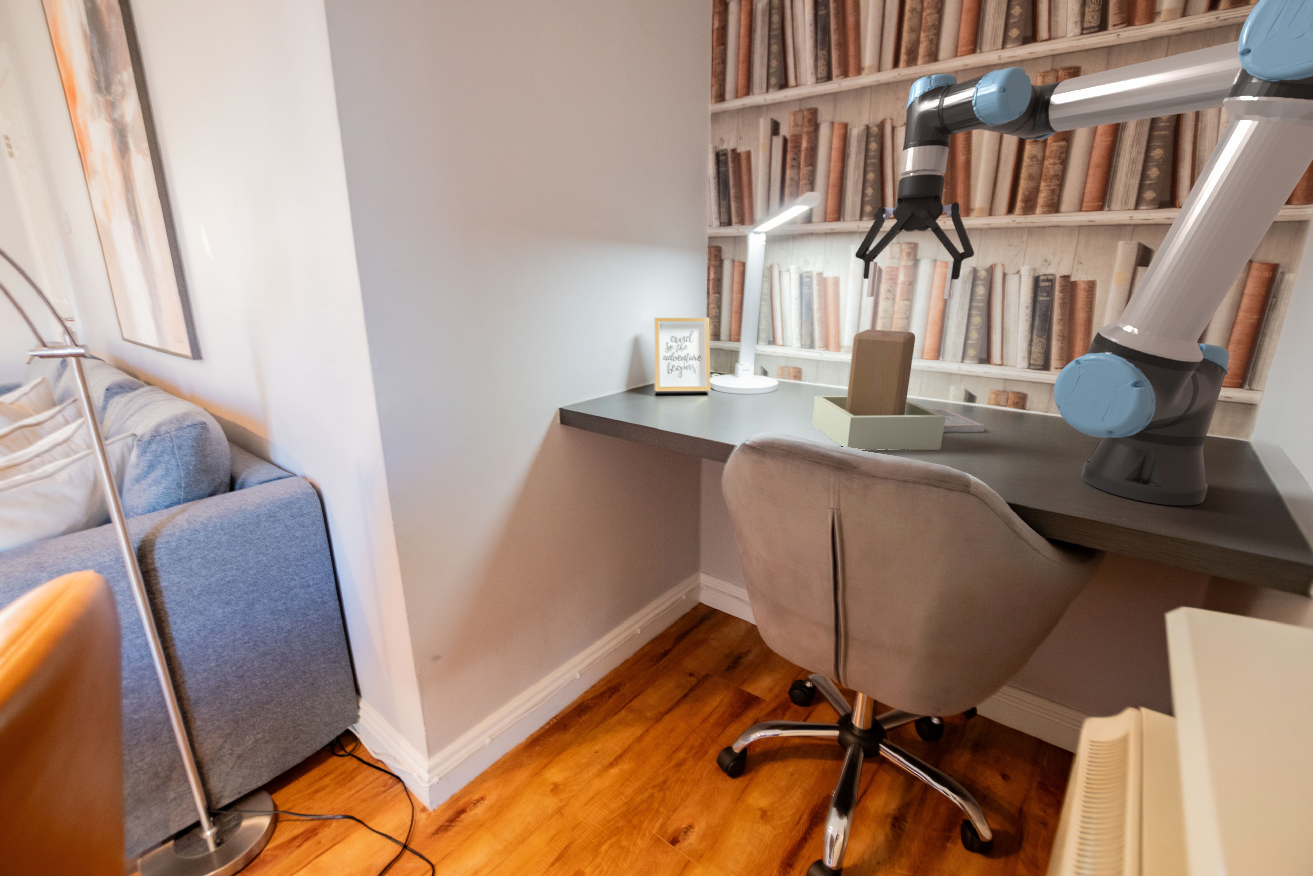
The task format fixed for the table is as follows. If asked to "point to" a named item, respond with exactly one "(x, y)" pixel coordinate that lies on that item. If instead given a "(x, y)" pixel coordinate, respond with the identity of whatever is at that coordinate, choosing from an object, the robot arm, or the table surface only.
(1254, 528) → the table surface
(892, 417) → the bin
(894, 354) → the block
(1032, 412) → the table surface
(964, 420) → the socket frame
